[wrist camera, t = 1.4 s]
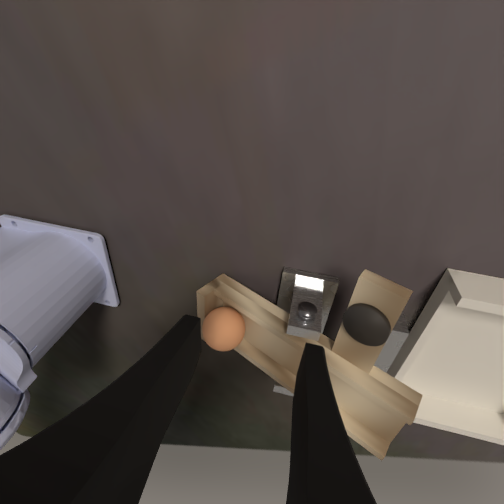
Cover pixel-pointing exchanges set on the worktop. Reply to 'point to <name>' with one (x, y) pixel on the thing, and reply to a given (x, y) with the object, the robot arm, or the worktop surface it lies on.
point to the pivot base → (323, 313)
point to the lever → (330, 353)
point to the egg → (223, 328)
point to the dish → (458, 357)
